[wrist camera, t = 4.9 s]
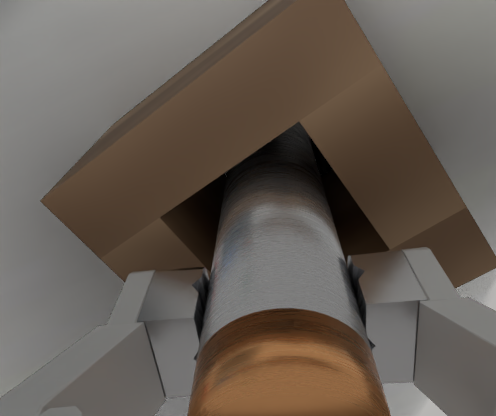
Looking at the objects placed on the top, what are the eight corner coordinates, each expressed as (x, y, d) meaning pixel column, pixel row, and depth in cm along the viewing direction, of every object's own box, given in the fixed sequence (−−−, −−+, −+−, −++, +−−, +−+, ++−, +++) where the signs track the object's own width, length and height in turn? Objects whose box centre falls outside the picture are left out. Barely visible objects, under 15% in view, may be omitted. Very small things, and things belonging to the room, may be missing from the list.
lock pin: (325, 156, 17) (442, 491, 6) (262, 197, 17) (264, 556, 7) (280, 93, 16) (325, 357, 5) (215, 140, 16) (133, 454, 6)
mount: (424, 171, 17) (501, 265, 11) (247, 276, 19) (243, 395, 14) (302, -27, 14) (329, -25, 9) (112, 125, 16) (40, 200, 11)
